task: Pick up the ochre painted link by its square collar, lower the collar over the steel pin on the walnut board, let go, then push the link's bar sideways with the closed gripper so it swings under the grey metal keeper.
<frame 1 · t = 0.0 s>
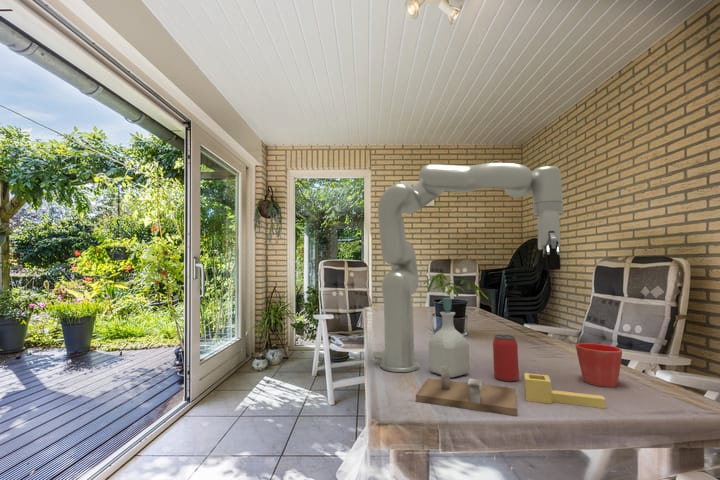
hand: (551, 269, 96), 31 cm above the table, tool pointing down, fingers open, 9 cm apart
beer can: (506, 379, 98), on the table
flower pot: (600, 383, 95), on the table
bracket base: (466, 397, 84), on the table
soap bottle: (449, 374, 104), on the table
link: (538, 398, 83), on the table
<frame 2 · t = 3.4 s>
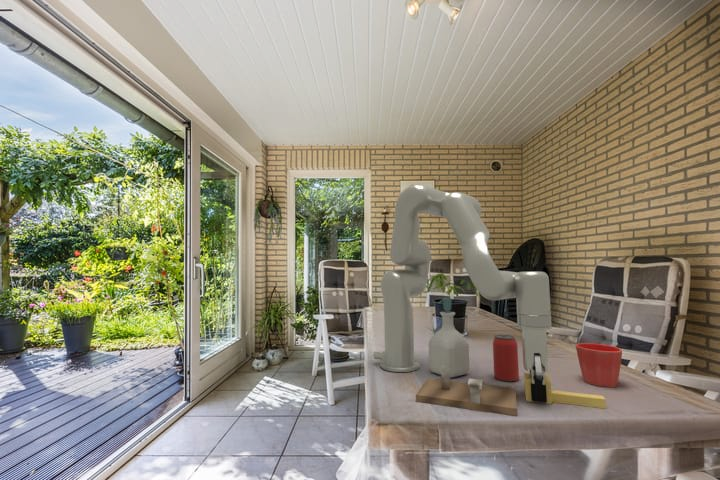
hand: (537, 396, 83), 0 cm above the table, tool pointing down, fingers closed on link, 5 cm apart
link: (538, 398, 83), on the table, touching gripper
everything else where it was.
when the fingers open (3 cm above the table, at t = 8.2 s): link drops 1 cm, resting on bracket base.
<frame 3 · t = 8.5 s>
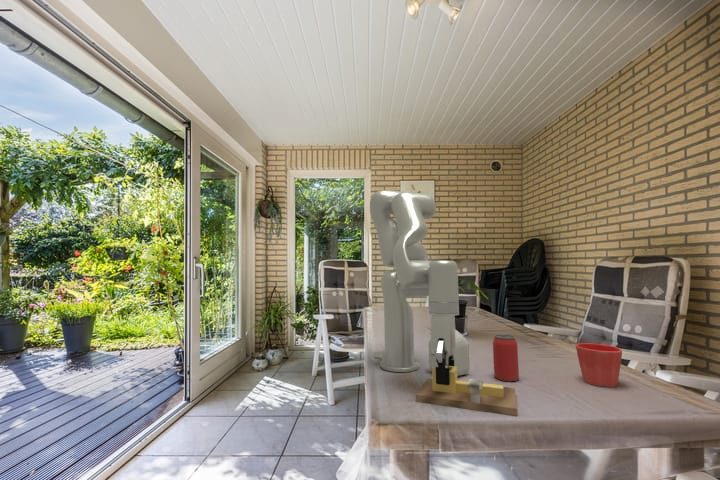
hand: (445, 378, 86), 4 cm above the table, tool pointing down, fingers open, 7 cm apart
link: (445, 388, 86), point 1 cm above the table, touching bracket base
everything else where it was.
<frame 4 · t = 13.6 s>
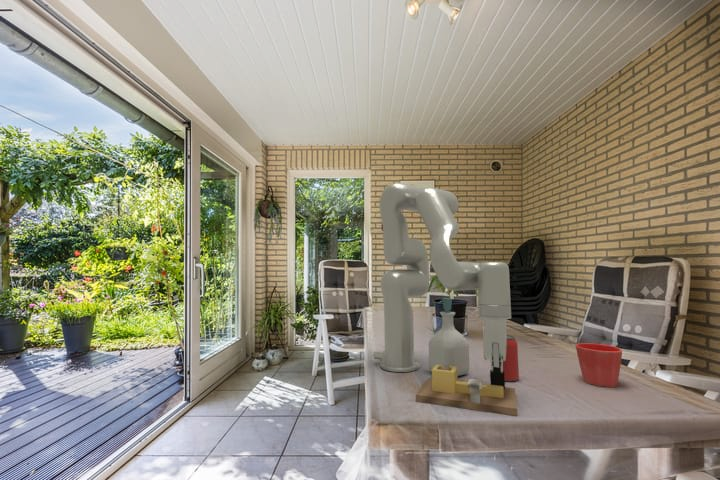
hand: (497, 387, 83), 3 cm above the table, tool pointing down, fingers closed
link: (445, 388, 86), point 2 cm above the table, touching bracket base, gripper
everything else where it was.
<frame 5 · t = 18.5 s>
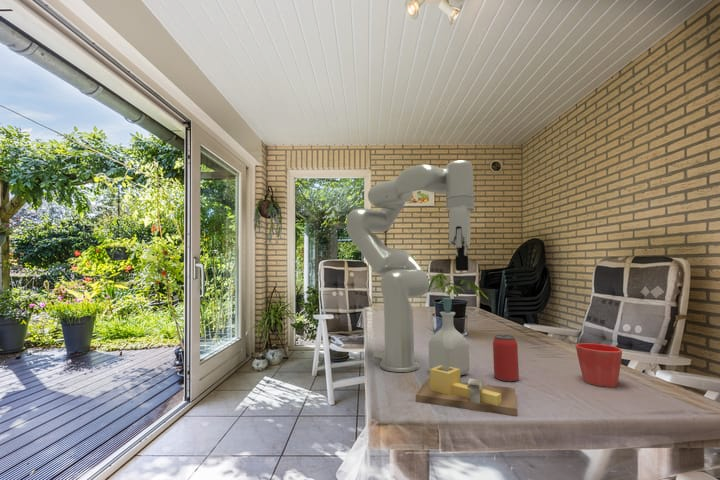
hand: (462, 270, 94), 31 cm above the table, tool pointing down, fingers closed
link: (445, 389, 85), point 1 cm above the table, touching bracket base
everything else where it was.
at the end: link 0.8 cm from the target spot on the bracket base, point 1.5 cm above the bracket base's base; the gripper is holding nothing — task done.
